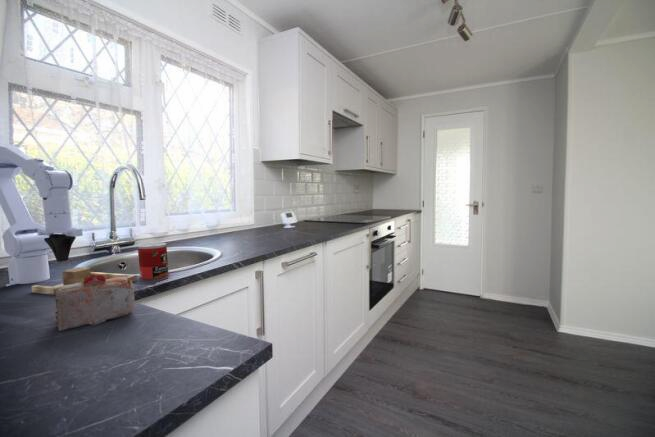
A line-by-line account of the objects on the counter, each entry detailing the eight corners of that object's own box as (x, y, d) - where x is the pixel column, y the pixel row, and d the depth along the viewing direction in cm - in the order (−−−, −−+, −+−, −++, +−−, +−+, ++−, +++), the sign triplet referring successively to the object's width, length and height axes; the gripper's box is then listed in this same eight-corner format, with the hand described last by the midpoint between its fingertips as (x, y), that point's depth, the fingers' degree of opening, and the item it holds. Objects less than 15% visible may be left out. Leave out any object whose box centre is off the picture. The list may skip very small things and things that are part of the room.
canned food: (157, 283, 94) (154, 247, 93) (134, 282, 96) (131, 246, 95) (174, 276, 102) (172, 242, 101) (152, 275, 103) (150, 242, 102)
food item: (130, 306, 76) (127, 266, 75) (137, 316, 70) (134, 272, 69) (56, 323, 67) (51, 277, 66) (57, 335, 61) (52, 286, 60)
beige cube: (63, 287, 88) (62, 271, 88) (80, 282, 93) (78, 267, 92) (75, 288, 87) (74, 272, 87) (91, 283, 92) (90, 268, 91)
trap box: (32, 296, 85) (31, 286, 84) (88, 280, 99) (87, 271, 99) (86, 302, 79) (85, 291, 79) (137, 284, 94) (136, 275, 94)
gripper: (22, 214, 88) (28, 263, 89) (61, 214, 84) (66, 265, 85) (50, 212, 94) (55, 257, 96) (88, 212, 90) (92, 259, 92)
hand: (62, 260), depth 91 cm, fingers closed
